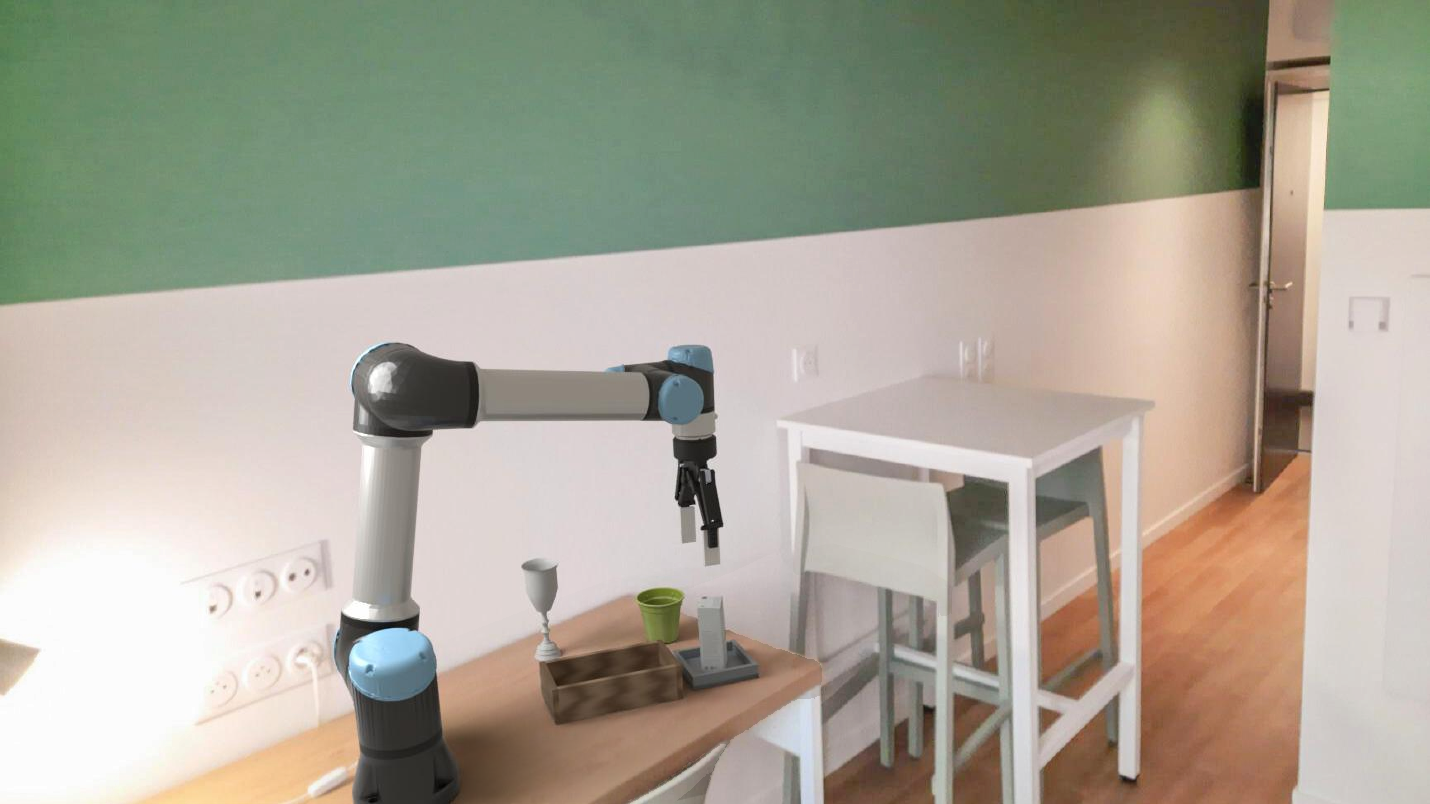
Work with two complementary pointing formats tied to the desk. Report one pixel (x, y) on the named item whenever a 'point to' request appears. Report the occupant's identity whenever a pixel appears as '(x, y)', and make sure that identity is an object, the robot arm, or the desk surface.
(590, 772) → the desk surface
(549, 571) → the chalice
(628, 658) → the walnut box
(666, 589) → the plant pot
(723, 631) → the skincare box
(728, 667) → the charcoal tray
